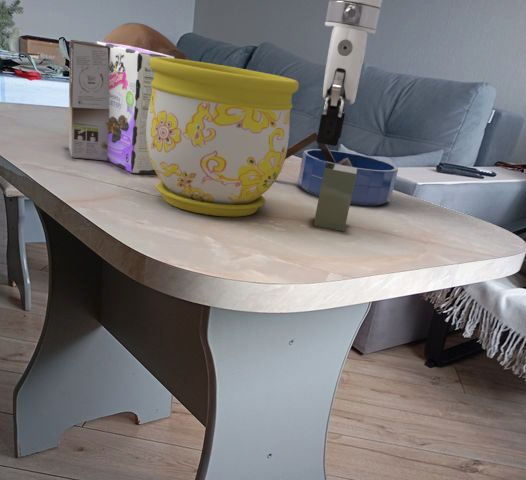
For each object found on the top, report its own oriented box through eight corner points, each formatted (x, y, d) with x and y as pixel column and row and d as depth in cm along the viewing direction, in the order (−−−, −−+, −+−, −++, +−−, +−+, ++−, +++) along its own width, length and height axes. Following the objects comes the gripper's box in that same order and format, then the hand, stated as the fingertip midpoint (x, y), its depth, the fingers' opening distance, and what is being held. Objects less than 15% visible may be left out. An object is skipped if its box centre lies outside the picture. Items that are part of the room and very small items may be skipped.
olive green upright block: (345, 223, 83) (357, 168, 80) (344, 231, 79) (356, 173, 76) (316, 218, 83) (326, 162, 80) (313, 225, 79) (324, 167, 76)
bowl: (388, 193, 107) (395, 161, 105) (390, 212, 93) (399, 176, 91) (302, 177, 108) (308, 145, 106) (292, 194, 94) (299, 157, 92)
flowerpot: (282, 201, 89) (302, 79, 82) (270, 233, 73) (294, 84, 66) (160, 179, 90) (170, 56, 82) (122, 206, 74) (130, 56, 66)
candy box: (91, 153, 99) (95, 39, 92) (125, 154, 102) (131, 45, 95) (130, 174, 90) (138, 49, 82) (166, 174, 93) (176, 55, 86)
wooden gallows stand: (355, 168, 101) (329, 121, 99) (355, 173, 97) (328, 124, 94) (280, 213, 106) (254, 168, 104) (276, 219, 102) (249, 173, 99)
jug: (90, 151, 100) (232, 182, 121) (126, 26, 91) (273, 82, 112) (47, 103, 112) (183, 139, 132) (76, -11, 103) (217, 46, 123)
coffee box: (113, 162, 96) (118, 48, 89) (70, 158, 93) (72, 41, 86) (107, 150, 103) (111, 44, 96) (67, 146, 101) (68, 38, 94)
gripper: (378, 20, 82) (350, 152, 90) (376, 26, 98) (353, 138, 105) (322, 10, 83) (300, 142, 90) (330, 18, 98) (310, 130, 106)
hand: (328, 140), depth 98 cm, fingers open, 9 cm apart
